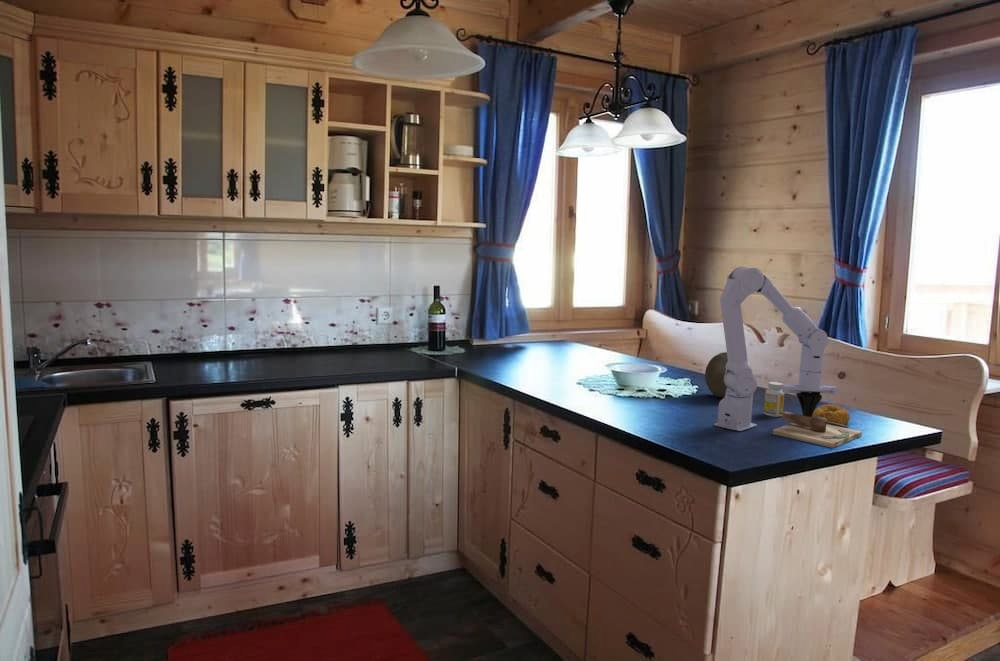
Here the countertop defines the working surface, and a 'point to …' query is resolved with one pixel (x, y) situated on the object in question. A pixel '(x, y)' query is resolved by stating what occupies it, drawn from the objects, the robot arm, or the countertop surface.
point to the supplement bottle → (774, 400)
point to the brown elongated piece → (809, 421)
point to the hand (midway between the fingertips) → (807, 418)
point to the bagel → (833, 414)
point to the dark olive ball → (717, 374)
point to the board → (818, 434)
